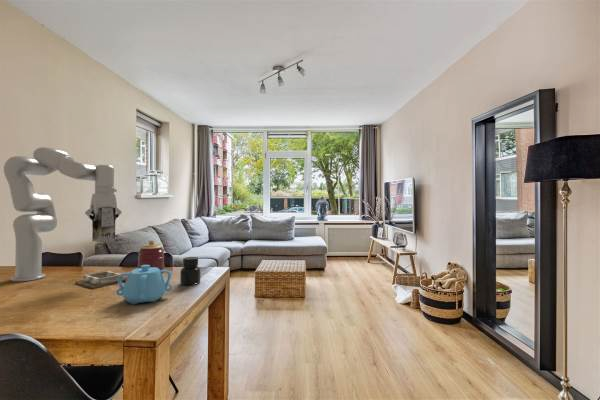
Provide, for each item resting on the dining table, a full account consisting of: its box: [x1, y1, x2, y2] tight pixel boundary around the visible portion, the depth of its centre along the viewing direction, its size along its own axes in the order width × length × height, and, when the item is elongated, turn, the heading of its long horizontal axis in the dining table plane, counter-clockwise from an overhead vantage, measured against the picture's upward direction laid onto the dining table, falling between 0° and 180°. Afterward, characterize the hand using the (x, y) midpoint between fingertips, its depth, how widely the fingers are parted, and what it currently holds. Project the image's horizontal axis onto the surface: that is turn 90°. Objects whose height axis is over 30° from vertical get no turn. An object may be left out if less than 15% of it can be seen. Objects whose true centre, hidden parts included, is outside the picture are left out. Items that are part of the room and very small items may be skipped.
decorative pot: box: [115, 265, 173, 305], centre depth 116 cm, size 16×16×14 cm
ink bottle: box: [179, 256, 201, 286], centre depth 140 cm, size 10×9×12 cm
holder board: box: [75, 270, 128, 290], centre depth 140 cm, size 16×16×4 cm
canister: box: [137, 240, 166, 271], centre depth 159 cm, size 13×13×18 cm
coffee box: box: [91, 208, 116, 243], centre depth 140 cm, size 9×6×16 cm
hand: (103, 228), depth 140 cm, fingers closed on coffee box, 6 cm apart
